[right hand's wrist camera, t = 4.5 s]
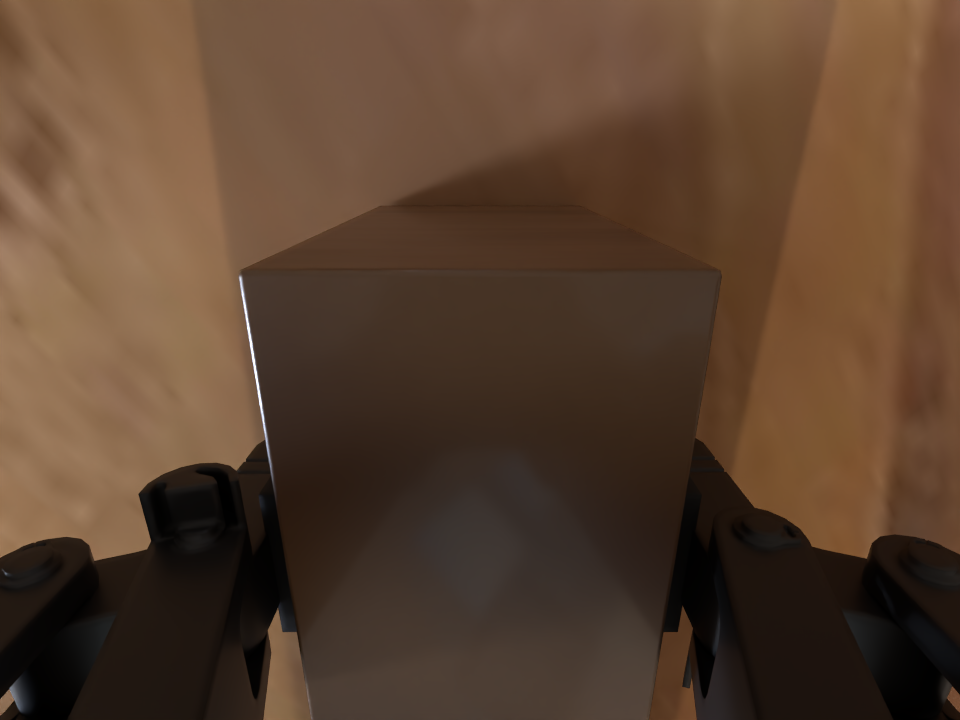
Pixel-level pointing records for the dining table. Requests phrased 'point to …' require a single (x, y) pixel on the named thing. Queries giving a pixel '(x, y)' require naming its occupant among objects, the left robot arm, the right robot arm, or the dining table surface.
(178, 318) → the dining table surface
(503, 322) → the bar
